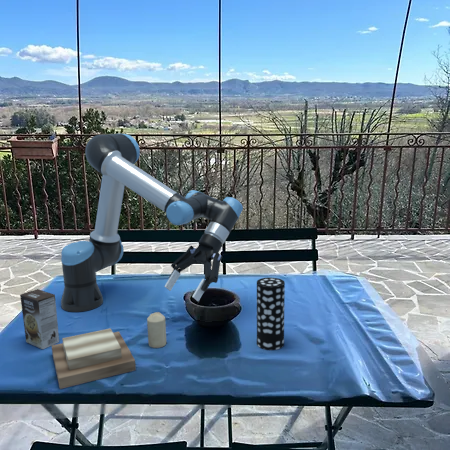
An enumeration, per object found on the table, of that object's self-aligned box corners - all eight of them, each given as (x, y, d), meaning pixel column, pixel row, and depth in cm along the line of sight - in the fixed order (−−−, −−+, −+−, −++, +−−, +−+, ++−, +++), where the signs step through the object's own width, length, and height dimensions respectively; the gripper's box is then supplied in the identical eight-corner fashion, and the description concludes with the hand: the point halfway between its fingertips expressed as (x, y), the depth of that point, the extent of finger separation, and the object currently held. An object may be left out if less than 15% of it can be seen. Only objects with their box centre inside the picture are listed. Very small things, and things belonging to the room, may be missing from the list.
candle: (163, 348, 137) (161, 318, 134) (145, 347, 138) (144, 317, 136) (168, 340, 142) (167, 310, 140) (152, 339, 143) (150, 309, 141)
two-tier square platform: (52, 354, 134) (50, 336, 133) (119, 340, 143) (118, 322, 141) (59, 389, 117) (57, 368, 115) (135, 370, 125) (134, 350, 124)
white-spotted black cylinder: (266, 352, 133) (266, 288, 129) (251, 341, 140) (251, 280, 136) (289, 346, 137) (290, 283, 133) (274, 335, 144) (274, 275, 140)
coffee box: (25, 342, 142) (18, 294, 139) (43, 334, 147) (37, 288, 144) (42, 350, 137) (36, 300, 134) (60, 341, 142) (55, 293, 139)
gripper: (246, 251, 144) (214, 309, 137) (194, 239, 161) (163, 290, 154) (235, 238, 139) (201, 298, 132) (182, 227, 157) (150, 279, 149)
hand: (180, 293), depth 143 cm, fingers open, 13 cm apart
